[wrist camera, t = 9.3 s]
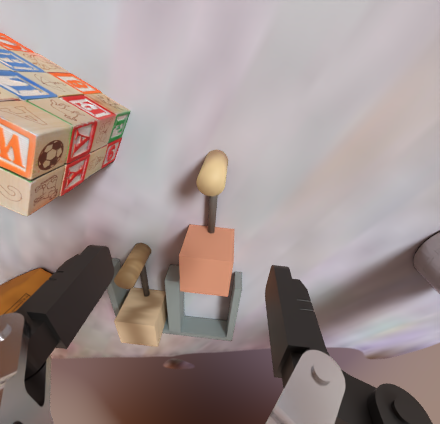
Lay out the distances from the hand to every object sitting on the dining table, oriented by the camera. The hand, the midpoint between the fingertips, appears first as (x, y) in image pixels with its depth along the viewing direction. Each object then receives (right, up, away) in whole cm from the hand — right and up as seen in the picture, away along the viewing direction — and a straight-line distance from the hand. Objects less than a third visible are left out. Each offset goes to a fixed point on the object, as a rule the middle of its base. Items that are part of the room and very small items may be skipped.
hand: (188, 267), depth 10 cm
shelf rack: (-6, -11, +26) cm, 29 cm away
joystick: (+1, +3, +17) cm, 17 cm away
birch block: (-10, -9, +24) cm, 28 cm away
